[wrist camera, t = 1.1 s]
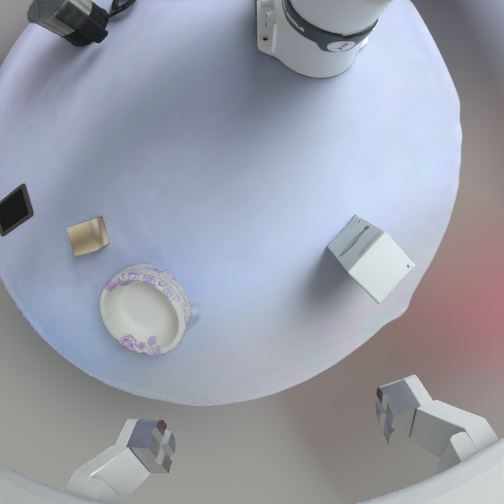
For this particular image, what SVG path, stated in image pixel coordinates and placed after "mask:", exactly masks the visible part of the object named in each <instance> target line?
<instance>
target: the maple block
mask: <svg viewBox="0 0 504 504" xmlns="http://www.w3.org/2000/svg"><path fill="white" fill-rule="evenodd" d="M67 231H68V235H69V238H70V242H71V245H72V248H73V252H74V255H75V256H77V255H81V254H85V253H89V252H93V251H97V250H98V249H100V248H102V247H104V246H105V245H107V244H109V243H110V242H109V239H108V235H107V232H106V228H105V224H104V221H103V217H102V216H101V217H97V218H94V219H91V220H88V221H85V222H81V223H79V224H76V225H74V226H71V227H69V228H67Z"/></svg>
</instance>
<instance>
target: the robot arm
mask: <svg viewBox="0 0 504 504" xmlns="http://www.w3.org/2000/svg"><path fill="white" fill-rule="evenodd" d="M392 1H393V0H257V47H258V49H259V50H260V51H261V52H263V53H266V54H268V55H271V56H274V57H276V58H278V59H279V60H280V61H281V62H282V63H284V64H285V65H286V66H287V67H289V68H290V69H292V70H294V71H295V72H298V73H300V74H303V75H306V76H310V77H316V78H327V77H332V76H336V75H339V74H341V73H343V72H344V71H346V70H347V69H348V68H349V67H350V66H351V65H352V63H353V62H354V60H355V57H356V55H357V52H358V51H359V50H360V49H361V48H363V47H364V46H365V45H366V44H367V42H368V37H367V36H368V34H369V33H370V32H371V31H373V29H374V27H375V25H376V23H377V21H378V17H379V16H380V15H381V14H382V13H383V12H384V10H385V9H386V8H387V7H388V6H389V5H390V4H391V3H392ZM264 38H266V39H268V40H266V41H264V40H263V39H264ZM376 394H377V396H378V400H377V402H376V414H377V418H378V421H379V423H380V424H381V425H383V426H384V431H383V433H384V435H385V438H386V440H387V443H388V444H393V443H395V442H398V441H402V440H405V439H408V438H409V439H410V440H412V441H413V442H415V443H417V444H418V445H420V446H421V447H423V448H424V449H426V450H428V451H429V452H431V453H432V454H434V455H436V456H437V457H439V458H441V460H440V462H439V464H438V466H437V468H436V470H435V472H434V474H435V476H432V477H430V478H428V479H426V480H423V481H421V482H418V483H416V484H413V485H411V486H408V487H406V488H403V489H400V490H398V491H395V492H392V493H389V494H386V495H383V496H380V497H377V498H373V499H370V500H367V501H363V502H360V503H356V504H504V437H503V438H501V439H498V437H497V436H496V434H495V433H494V431H493V430H492V428H491V427H490V426H489V424H488V423H487V421H486V420H485V419H484V418H482V417H479V416H477V415H474V414H472V413H469V412H466V411H463V410H461V409H458V408H456V407H453V406H451V405H448V404H445V403H443V402H440V401H438V400H435V401H433V400H432V399H431V397H430V395H429V394H428V392H427V391H426V389H425V388H424V387H423V385H422V383H421V382H420V380H419V379H418V378H417V376H416V375H412V376H409V377H407V378H404V379H400V380H397V381H394V382H392V383H389V384H386V385H383V386H379V387H378V388H377V393H376ZM166 427H167V425H166V423H165V422H164V420H154V419H153V420H152V419H131V418H130V419H128V420H127V421H126V423H125V425H124V427H123V429H122V431H121V434H120V436H119V438H118V440H117V442H116V444H115V446H111V447H109V448H108V449H106V450H105V451H104V452H102V453H101V454H99V455H98V456H96V457H95V458H94V459H92V460H91V461H89V462H88V463H86V464H85V465H83V466H82V467H80V468H79V469H77V470H76V471H75V472H74V474H73V476H72V478H71V480H70V482H69V484H68V486H67V488H66V490H65V491H62V490H59V489H56V488H54V487H51V486H49V485H46V484H44V483H42V482H39V481H37V480H35V479H33V478H30V477H28V476H26V475H24V474H22V473H20V472H18V471H16V470H13V469H6V470H3V471H1V472H0V504H129V503H128V502H127V501H125V500H124V499H125V498H126V497H127V496H128V495H129V494H130V493H131V492H132V491H133V490H134V489H135V488H136V487H137V486H138V485H139V484H140V483H141V482H142V481H143V480H144V479H145V478H146V477H147V476H148V475H149V474H150V472H152V473H169V470H170V466H171V463H172V460H171V459H170V456H171V455H172V454H173V453H174V451H175V439H174V436H173V434H172V433H171V432H170V431H168V430H166Z"/></svg>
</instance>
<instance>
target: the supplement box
mask: <svg viewBox="0 0 504 504" xmlns="http://www.w3.org/2000/svg"><path fill="white" fill-rule="evenodd" d="M327 247H328V249H329V250H330V251H331V252H332V253H333V254H334V256H335V257H336V258H337V259H338V261H339V262H340V263H341V265H342V266H343V267H344V268H345V270H346V271H347V272H348V273H349V274H350V275H351V276H352V277H353V278H354V279H355V280H356V281H357V283H358V284H359V285H360V286H361V287H362V288H363V289H364V290H365V291H366V292H367V293H368V294H369V295H370V296H371V297H372V298H373V299H374V300H375V301H376V302H377V303H378V304H380V303H381V302H382V301H383V300H384V299H385V298H386V297H387V296H388V295H389V294H390V293H391V292H392V291H393V290H394V289H395V288H396V287H397V286H398V285H399V284H400V282H401V281H402V280H403V279H404V278H405V277H406V276H407V275H408V273H409V272H410V271H411V270H412V269H413V268H414V267H415V265H414V263H413V262H412V261H411V260H410V259H409V258H408V256H407V255H406V254H405V253H404V252H403V251H402V250H401V249H400V247H399V246H398V245H397V244H396V243H395V242H394V241H393V240H392V239H391V238H390V237H389V235H388V234H387V233H386V232H385V231H383V230H381V229H380V228H378V227H376V226H375V225H373V224H371V223H369V222H368V221H366V220H364V219H362V218H361V217H359V216H357V215H355V216H354V217H353V219H352V220H351V221H350V222H349V223H348V225H347V226H346V227H345V228H344V229H343V230H342V231H341V232H340V233H339V234H338V235H337V236H336V238H335V239H334V240H333V241H332V242H331V243H330V244H329V245H328V246H327Z"/></svg>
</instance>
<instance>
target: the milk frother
mask: <svg viewBox="0 0 504 504" xmlns="http://www.w3.org/2000/svg"><path fill="white" fill-rule="evenodd" d="M118 1H119V0H113V2H112V9H113V10H114V11H115V12H113V13H111V14H109V15H108V13H107V11H106V10H105V9H102V8H100V7H99V6H97V5H96V4H95V3H93V2H92V1H91V0H33V2H32V4H31V5H30V7H29V10H28V13H27V19H28V21H29V22H30V23H36V24H38V25H40V26H42V27H44V28H46V29H48V30H50V31H51V32H53V33H55V34H57V35H59V36H61V37H63V38H65V39H66V40H67V41H69V42H71V44H72V45H74V46H78V47H80V46H85V45H87V44H89V43H91V42H92V41H94V42H96V43H100V42H102V41H103V40H104V38H105V37H106V36H107V35H108V31H106V30H105V27H106V25H107V23H108V18H110V17H112V16H114V15H116V14H118V13H120V12H122V11H124V10H125V9H127V8H128V7H129V6H131V5H132V4H133V3H134V2H135V1H136V0H129V1H128V2H126V3H125V4H123V5H122V6H118Z"/></svg>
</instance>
